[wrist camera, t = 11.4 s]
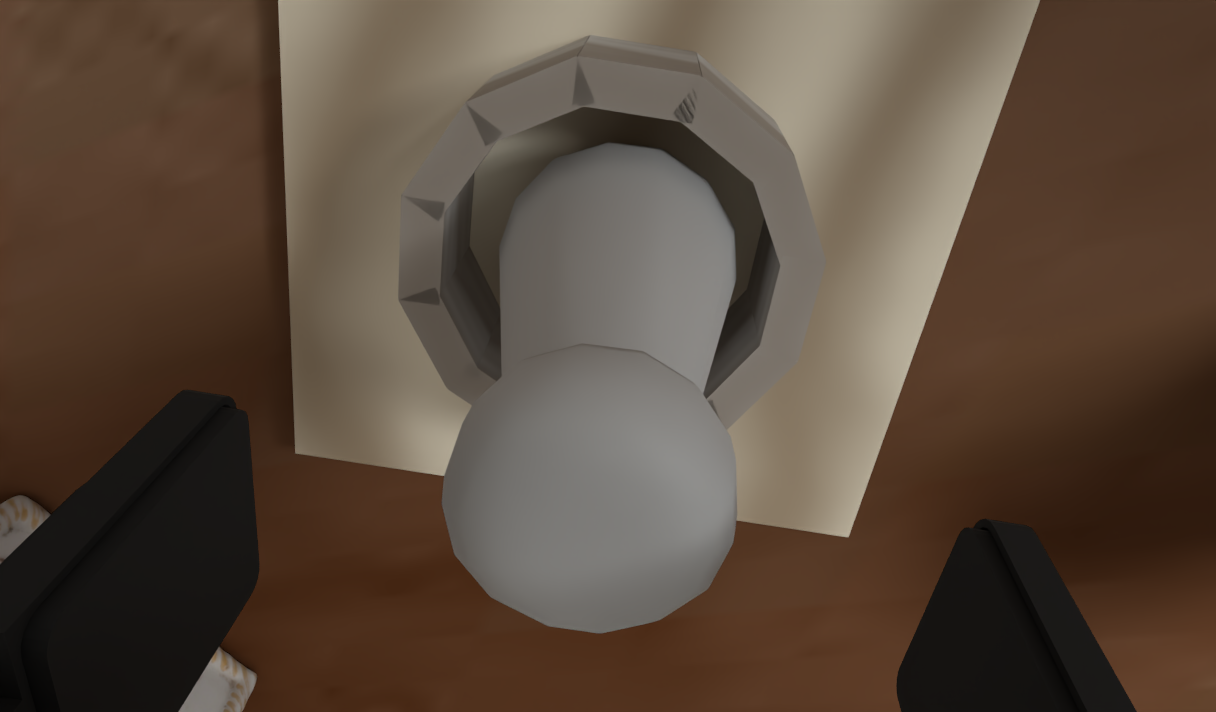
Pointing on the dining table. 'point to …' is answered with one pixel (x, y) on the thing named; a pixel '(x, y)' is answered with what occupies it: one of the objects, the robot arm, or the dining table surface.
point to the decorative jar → (224, 679)
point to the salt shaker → (602, 398)
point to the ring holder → (644, 116)
